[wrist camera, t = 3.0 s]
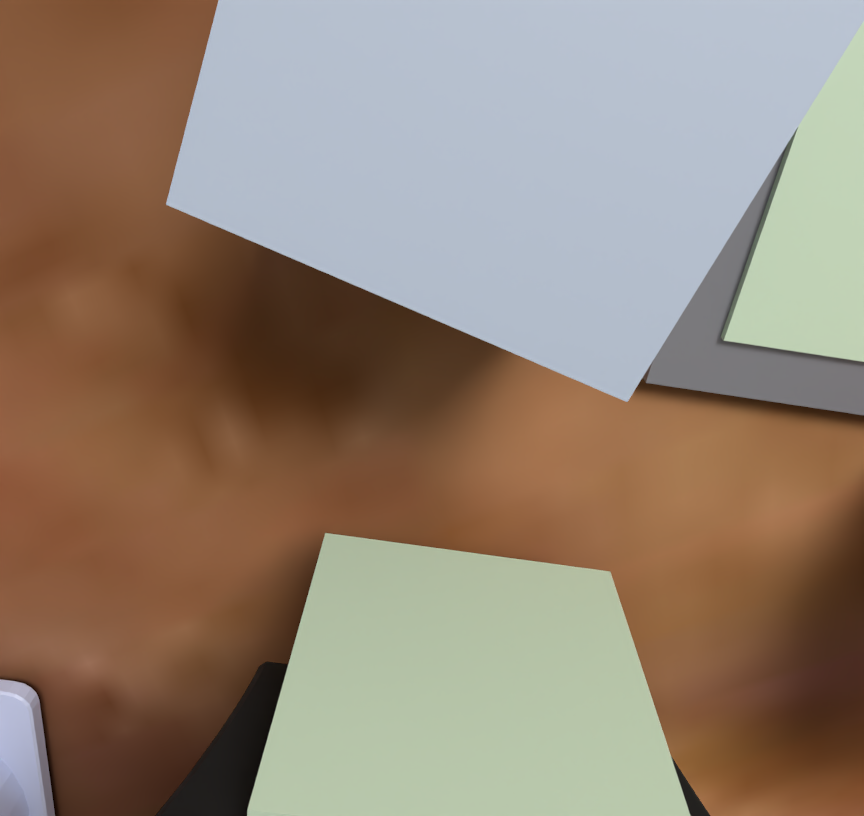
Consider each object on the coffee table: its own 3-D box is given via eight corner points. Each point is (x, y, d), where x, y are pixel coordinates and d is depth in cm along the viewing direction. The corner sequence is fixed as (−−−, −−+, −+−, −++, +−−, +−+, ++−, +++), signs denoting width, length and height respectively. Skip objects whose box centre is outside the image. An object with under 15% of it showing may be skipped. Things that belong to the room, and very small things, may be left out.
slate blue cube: (284, 155, 11) (165, 204, 7) (403, -215, 9) (349, -513, 5) (562, 279, 12) (627, 401, 7) (729, -38, 10) (964, -142, 5)
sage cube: (306, 734, 14) (235, 1047, 9) (325, 533, 12) (247, 809, 7) (548, 765, 14) (594, 1084, 10) (609, 571, 12) (706, 864, 8)
